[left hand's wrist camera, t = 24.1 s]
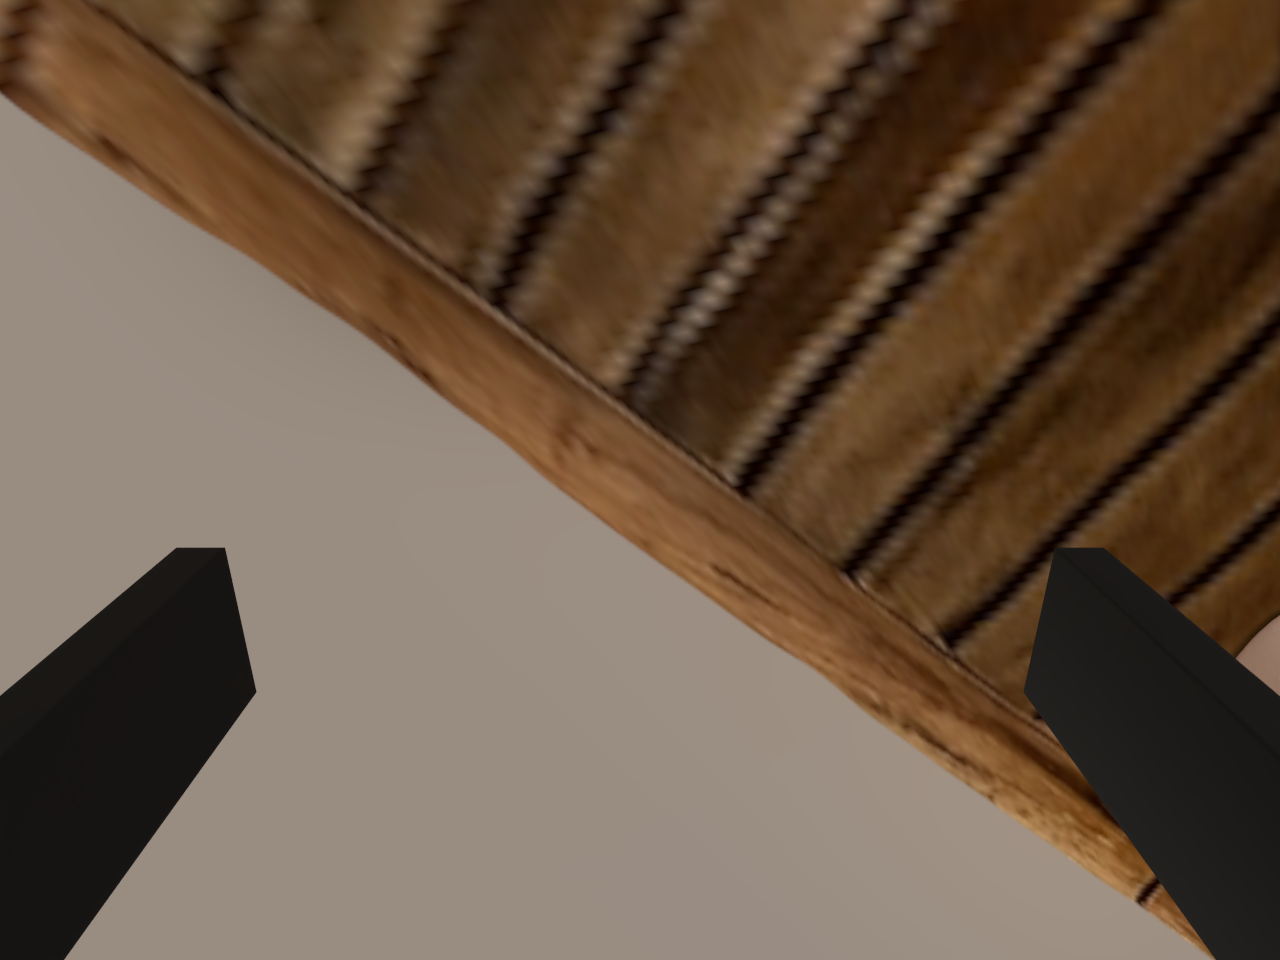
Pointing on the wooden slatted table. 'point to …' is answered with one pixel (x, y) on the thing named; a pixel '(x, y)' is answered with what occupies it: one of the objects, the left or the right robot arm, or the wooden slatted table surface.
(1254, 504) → the wooden slatted table surface
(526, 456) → the wooden slatted table surface
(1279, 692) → the anatomical model
